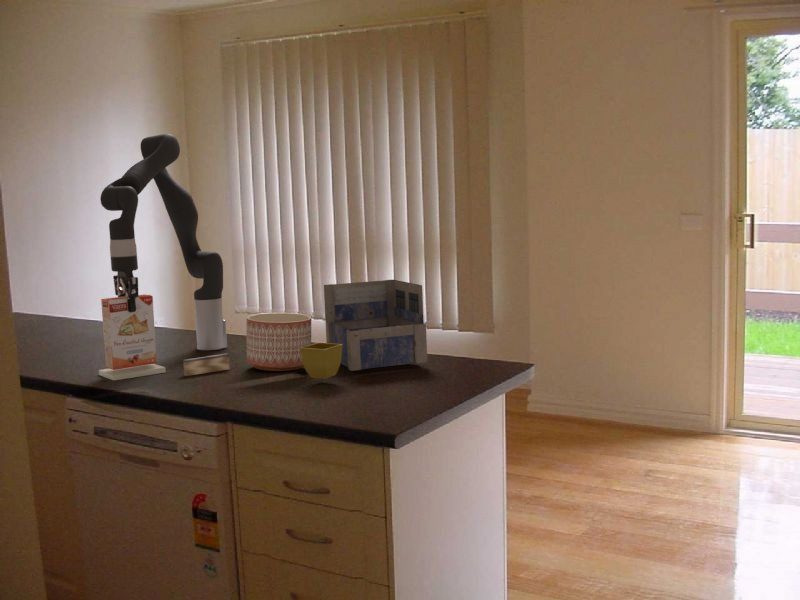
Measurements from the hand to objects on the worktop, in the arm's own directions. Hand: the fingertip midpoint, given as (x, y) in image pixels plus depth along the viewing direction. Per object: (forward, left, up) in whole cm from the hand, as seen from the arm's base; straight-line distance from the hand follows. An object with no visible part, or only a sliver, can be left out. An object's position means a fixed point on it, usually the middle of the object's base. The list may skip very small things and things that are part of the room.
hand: (127, 310), depth 280 cm
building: (-63, +38, -19) cm, 76 cm away
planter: (-36, +25, -19) cm, 48 cm away
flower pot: (-37, +48, -19) cm, 64 cm away
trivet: (0, 0, -19) cm, 19 cm away
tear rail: (-17, +16, -19) cm, 30 cm away
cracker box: (0, 0, -17) cm, 17 cm away
